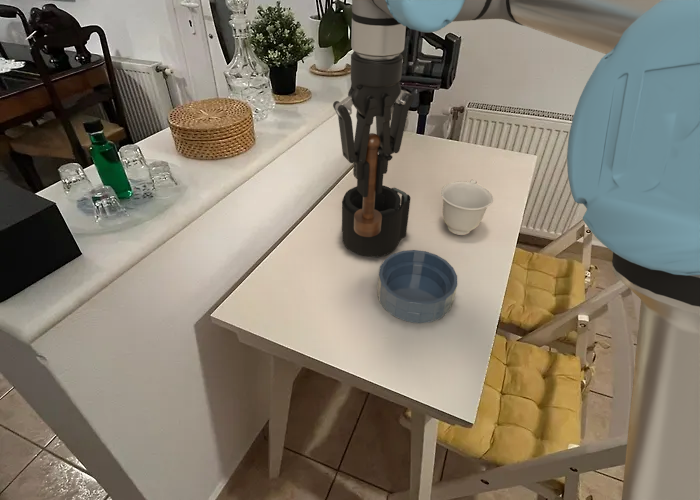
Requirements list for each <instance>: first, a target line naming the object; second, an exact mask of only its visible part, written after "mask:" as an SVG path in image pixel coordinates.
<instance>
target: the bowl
mask: <svg viewBox="0 0 700 500" xmlns="http://www.w3.org/2000/svg"><path fill="white" fill-rule="evenodd" d="M377 279H378V280H377V289H376V290H377V292H376V294H377V298H378V301H379V304H380V305H381V306H382V307H383V309H384V310H385V311H386V312H387V313H389V314H390V315H391V316H393V317H395V318H397V319H399V320H402V321H404V322H406V323H407V322H408V323H413V324H414V323H416V324H425V323H433V322H435V321H438V320H440V319H443V317H445V316H446V315H447V314H448V313H450V311H451V309H452V306H453V304H454V301H455V296H456V293H457V288H458V275H457V273H456V271H455V268H454V267H453V265H451V264H450V263H449V262H448V261H447V260H446V259H444V258H443V257H441V256H440V255H438V254H435V253H432V252H430V251H426V250H418V249H407V250H401V251H398V252H395V253H392V254H390V255H389V256H388V257H386V258H385V259H384V260H383V261H382V263H381V265H380V266H379V269H378V278H377Z"/></svg>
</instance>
